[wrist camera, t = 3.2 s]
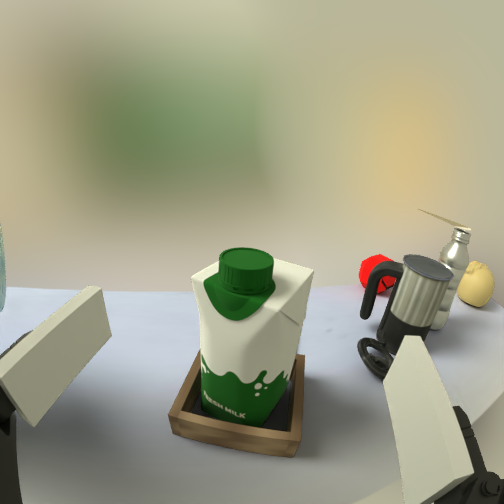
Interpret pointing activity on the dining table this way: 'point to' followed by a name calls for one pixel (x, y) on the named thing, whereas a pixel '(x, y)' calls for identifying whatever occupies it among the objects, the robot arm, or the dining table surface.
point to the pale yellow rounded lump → (476, 284)
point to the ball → (367, 268)
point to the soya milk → (248, 332)
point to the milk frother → (403, 306)
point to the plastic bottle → (457, 262)
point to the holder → (236, 433)
